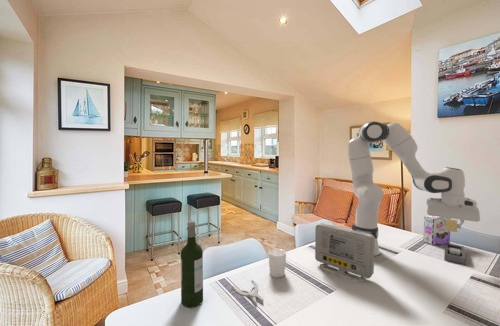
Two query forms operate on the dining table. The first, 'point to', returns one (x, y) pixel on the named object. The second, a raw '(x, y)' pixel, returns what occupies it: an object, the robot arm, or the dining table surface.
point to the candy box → (435, 231)
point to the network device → (345, 251)
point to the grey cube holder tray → (454, 258)
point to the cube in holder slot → (455, 251)
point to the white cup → (277, 262)
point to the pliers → (252, 295)
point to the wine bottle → (191, 270)
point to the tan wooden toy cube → (451, 225)
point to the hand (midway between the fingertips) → (451, 226)
